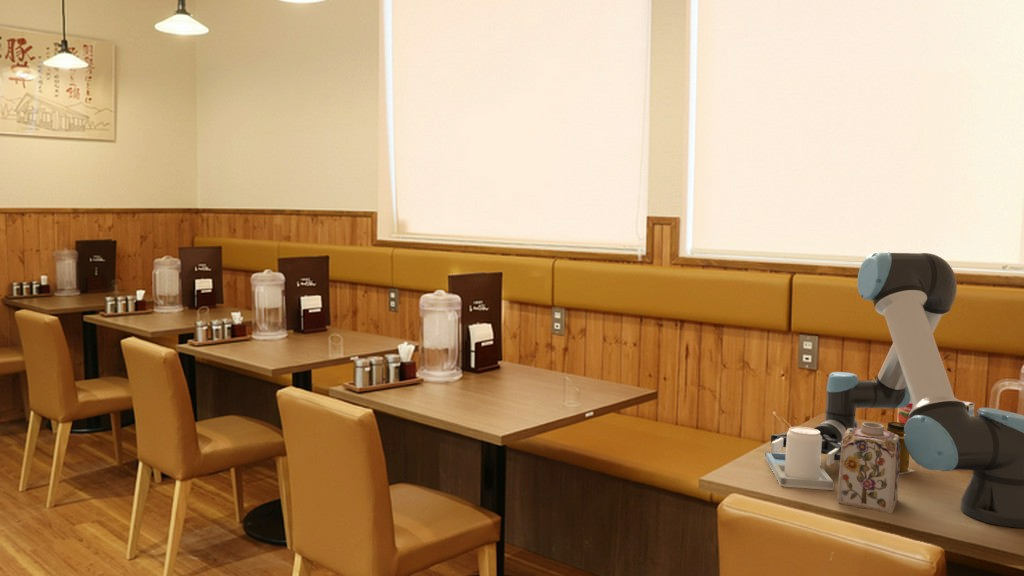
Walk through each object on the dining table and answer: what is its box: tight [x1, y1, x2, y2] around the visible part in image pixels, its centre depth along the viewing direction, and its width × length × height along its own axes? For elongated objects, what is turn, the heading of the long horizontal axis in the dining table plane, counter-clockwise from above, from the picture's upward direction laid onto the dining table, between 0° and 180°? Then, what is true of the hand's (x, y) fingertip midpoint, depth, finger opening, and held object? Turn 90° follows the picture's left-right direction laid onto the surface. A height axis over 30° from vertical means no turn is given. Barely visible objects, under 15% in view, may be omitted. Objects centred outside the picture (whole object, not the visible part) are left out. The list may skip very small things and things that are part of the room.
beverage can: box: [784, 426, 822, 479], centre depth 202 cm, size 8×8×12 cm
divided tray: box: [764, 451, 834, 491], centre depth 209 cm, size 23×12×2 cm, turn 172°
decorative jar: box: [836, 421, 901, 514], centre depth 189 cm, size 12×12×18 cm
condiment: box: [886, 421, 916, 476], centre depth 215 cm, size 7×8×12 cm
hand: (799, 453), depth 201 cm, fingers open, 13 cm apart
